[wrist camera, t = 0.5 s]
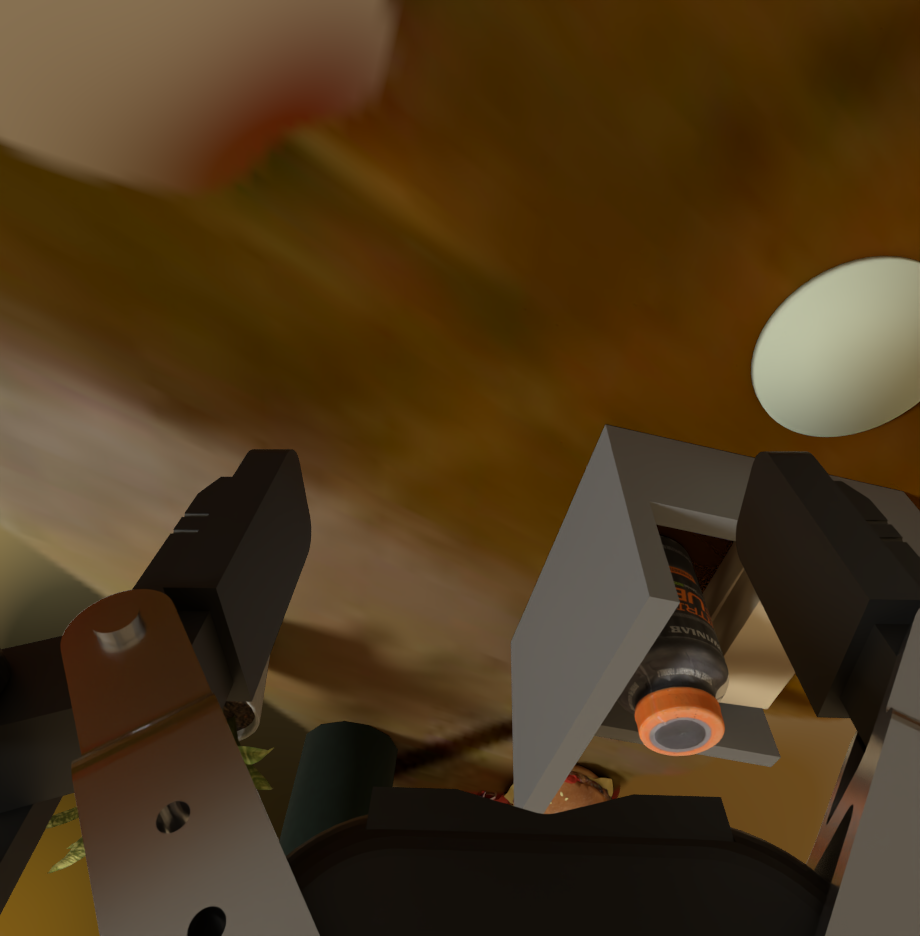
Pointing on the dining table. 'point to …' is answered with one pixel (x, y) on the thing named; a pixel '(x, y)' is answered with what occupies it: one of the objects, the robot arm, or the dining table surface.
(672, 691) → the pill bottle
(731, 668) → the offcut upper
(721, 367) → the dining table surface
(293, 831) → the wine bottle
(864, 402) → the coaster
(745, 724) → the frame
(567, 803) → the hamburger
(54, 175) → the dining table surface
